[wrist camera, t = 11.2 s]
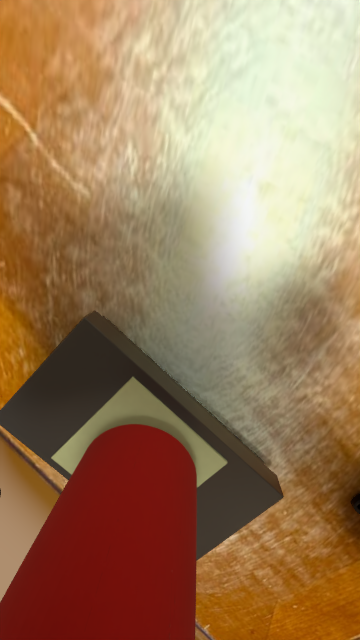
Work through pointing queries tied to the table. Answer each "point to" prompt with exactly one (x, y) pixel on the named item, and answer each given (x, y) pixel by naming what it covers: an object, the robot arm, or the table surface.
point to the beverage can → (114, 547)
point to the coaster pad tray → (136, 408)
